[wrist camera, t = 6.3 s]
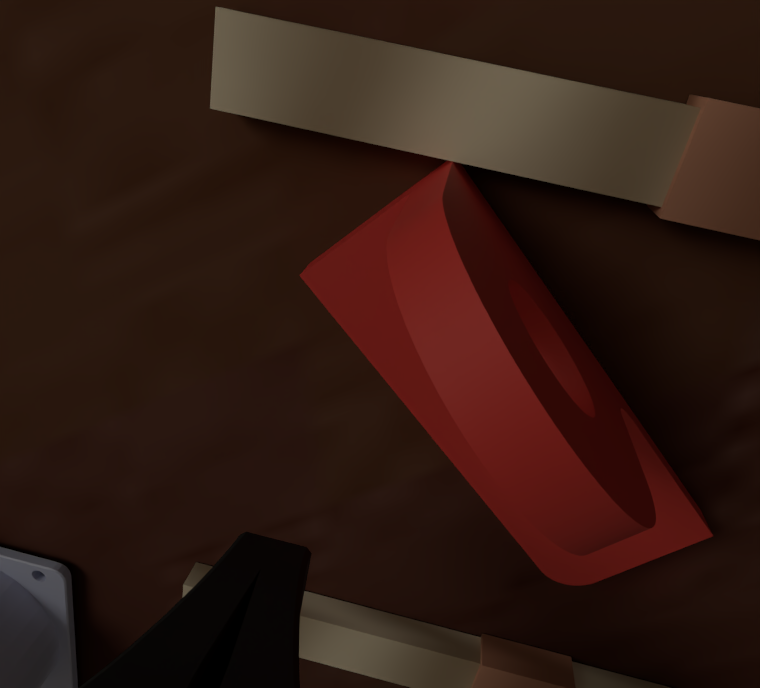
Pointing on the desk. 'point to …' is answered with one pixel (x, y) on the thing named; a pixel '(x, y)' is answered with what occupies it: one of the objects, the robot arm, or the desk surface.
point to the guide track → (499, 153)
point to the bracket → (504, 382)
